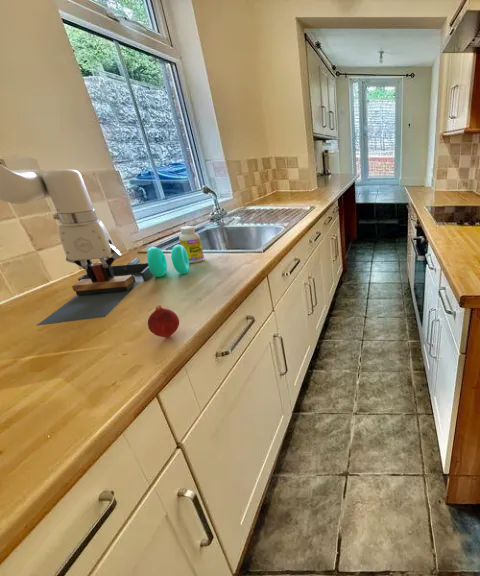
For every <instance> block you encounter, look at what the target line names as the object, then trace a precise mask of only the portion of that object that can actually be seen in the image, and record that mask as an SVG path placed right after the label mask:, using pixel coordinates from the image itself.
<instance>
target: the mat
mask: <svg viewBox="0 0 480 576" xmlns="http://www.w3.org/2000/svg"><path fill="white" fill-rule="evenodd" d="M140 283H141V282H136V283H134V286H133V287H131V288H130V289H129V290H128V291H121V292H111V293H100V294H90V295H80V296H77V294H76V295H75V296H73V297H72V298H71V299H70V300H69V301H67V302H65V303H64V304H63V305H62V306H60V307H59V308H57V309H56V310H55V311H53V312H52V313H51V314H50V315H48V316H47V317H45V318H44V319H43V320H41V321H40V322H39V323H37V324H36V326H44V325H53V324H59V323H68V322H77V321H83V320H91V319H100V318H105V317H107V316H108V315H109V314H110V313H111V312H112V311H113V310H114V309H115V308H116V307H117V306H118V305H119V304H120V303H121V302H122V301H123V300H124V299H126V297H127V296H128V295H130V293H131V292H132V291H133V290H134V289H135V288H136V287H137V286H138V285H139V284H140Z"/></svg>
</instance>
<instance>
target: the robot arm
mask: <svg viewBox="0 0 480 576" xmlns="http://www.w3.org/2000/svg"><path fill="white" fill-rule="evenodd" d="M88 191H89V190H88V188H87V185H86V184H85V181H84V178H83V176H82V174H81V173H80V171H78V170H76V169H64V168H63V169H48V170H43V169H31V168H25V169H24V168H23V169H12V170H11V169H9V168H7V167H6V166H5V165H3V164H1V163H0V200H1V201H2V202H6V203H8V204H9V203H10V204H14V205H16V204H17V205H22V204H23V205H24V204H28V203H31V202H36V201H41V200H44V199H51V202H52V203H53V206H54V208H55V211H56V214H53V215H52V218H53V220H55V221H56V220H58V221H59V222H60V223H59V224H58V226H57V227H58V233H59V238H60V242H61V246H62V248H63V251H64V254H65V261H66V262H68V263H72V264H75V265H77V266H79V267H81V268H82V270H84V271H86V273H87V274H88V276H89V278H90V279H91V281H92V282H96V278H95V276H94V273H93V271H92V268H91V266H90V265H91V264H93V262H92V260H99V261H100V263H102V265H103V268H102V271H103V274H104V276H105V279H106V280H107V281H110V280H111V279H112V278H113V277H114V272H113V270H112V267H111V266H113V263H114V262H115V261H116V260H118V259H119V258H121V257H122V256H123V254H122V253H121V252H120V251H119V250H118V249H117V248H116V246H115V244H114V241H113V239H112V237H111V234H110V233H109V231H108V229H107V228H106V226H105V224H104V223H103V222H102V220H99V218H98V216H97V213H96V211H95V208H94V205H93V203H92V199H91V197H90V194H89V192H88Z"/></svg>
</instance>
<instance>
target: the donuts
mask: <svg viewBox="0 0 480 576" xmlns="http://www.w3.org/2000/svg"><path fill="white" fill-rule="evenodd" d="M170 256H171V263H172V265H173V268H174V270H175V271H176V272H177V273H179V274H181V275H185V274H187V273H188V272H189V271H190V263H189V260H188V255H187V252H186V250H185V248H184V247H183V246H182V245H181V244H175V245H174V246H173V247H172V249H171V252H170ZM146 261H147V263H148V265H149V268H150V271H151V272H152V276H154V277H156V278H162V277H163V276H165V274H166V273H167V271H168V263H167V258H166V255H165V253H164V252H163V250H162V249H161V248H159V247H157V246H152V247H149V248H148V249H147V252H146Z"/></svg>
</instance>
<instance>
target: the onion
mask: <svg viewBox="0 0 480 576" xmlns="http://www.w3.org/2000/svg"><path fill="white" fill-rule="evenodd" d="M179 325H180V319H179V317H178V315H177V314H176V313H175V311H173V310H171V309H169V308H165V307H162V305H161V304H157V305H156V306H155V310H154V311H153V312H152V313H150V315H149V316H148V318H147V327H148V330H149V331H150V332H151V333H152V334H153V335H155V336H157V337H161V338H171V336H172V335H174V334H175V333H176V332H177V330H178V328H179Z"/></svg>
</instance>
